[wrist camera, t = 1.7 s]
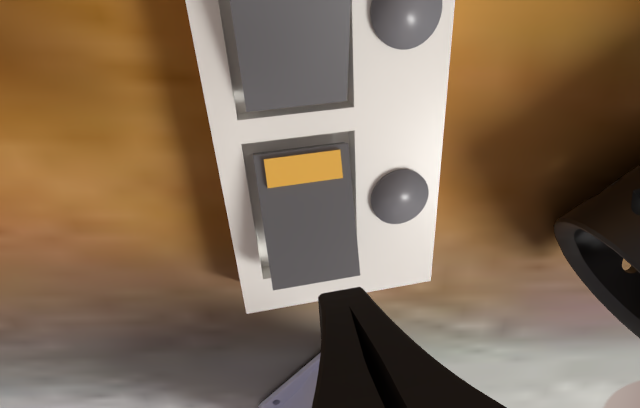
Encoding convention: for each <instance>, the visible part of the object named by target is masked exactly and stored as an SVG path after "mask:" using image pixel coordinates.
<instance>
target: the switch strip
mask: <svg viewBox="0 0 640 408" xmlns="http://www.w3.org/2000/svg"><path fill="white" fill-rule="evenodd" d="M185 2H186V7H187V12H188V17H189V22H190V27H191V32H192V37H193V42H194V48H195V53H196V58H197V63H198V68H199V73H200V78H201V83H202V88H203V94H204V99H205V104H206V109H207V114H208V119H209V124H210V129H211V135H212V140H213V145H214V150H215V155H216V160H217V165H218V170H219V175H220V181H221V186H222V191H223V196H224V201H225V206H226V211H227V216H228V221H229V227H230V232H231V237H232V242H233V247H234V252H235V257H236V262H237V267H238V273H239V278H240V283H241V288H242V293H243V298H244V303H245V308H246V313H247V314H249V313H255V312H260V311H266V310H271V309H277V308H282V307H288V306H294V305H299V304H305V303H310V302H316V301H318V297H319V296H320V295H321V294H322V293H327V292H333V291H338V290H344V289H350V288H355V287H361V288H363V289H364V290H365V292H371V291H377V290H382V289H388V288H393V287H399V286H404V285H410V284H415V283H421V282H427V281H431V271H432V260H433V248H434V237H435V225H436V214H437V202H438V191H439V179H440V167H441V156H442V144H443V133H444V121H445V110H446V98H447V87H448V75H449V63H450V52H451V40H452V29H453V17H454V6H455V0H351V11H350V36H349V62H348V87H347V101H342V102H333V103H324V104H315V105H306V106H297V107H288V108H279V109H270V110H261V111H252V112H246V105H245V99H244V92H243V85H242V79H241V72H240V66H239V59H238V52H237V46H236V39H235V32H234V26H233V19H232V12H231V6H230V0H185ZM339 142H345V143H348V146H349V157H350V168H351V179H352V190H353V200H354V211H355V222H356V233H357V244H358V255H359V266H360V276H354V277H348V278H342V279H337V280H331V281H325V282H319V283H314V284H308V285H302V286H296V287H291V288H285V289H279V290H273V288H272V281H271V274H270V267H269V260H268V254H267V247H266V240H265V233H264V226H263V220H262V213H261V206H260V199H259V193H258V186H257V179H256V172H255V165H254V159H253V153H259V152H267V151H275V150H283V149H291V148H299V147H307V146H315V145H323V144H331V143H339Z"/></svg>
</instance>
